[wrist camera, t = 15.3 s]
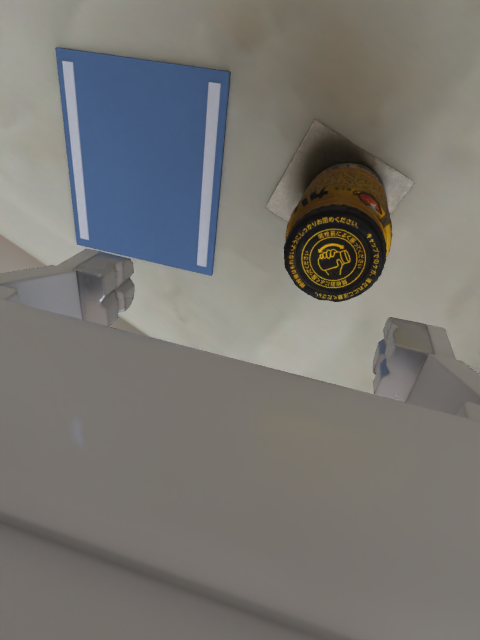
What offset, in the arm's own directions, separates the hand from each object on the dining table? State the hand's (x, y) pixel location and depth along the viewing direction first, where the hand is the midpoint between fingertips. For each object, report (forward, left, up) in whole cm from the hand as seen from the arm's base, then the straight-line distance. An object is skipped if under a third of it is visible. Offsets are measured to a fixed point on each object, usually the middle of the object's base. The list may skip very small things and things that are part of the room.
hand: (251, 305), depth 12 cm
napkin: (+2, -15, -21) cm, 26 cm away
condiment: (+1, +2, -21) cm, 21 cm away
